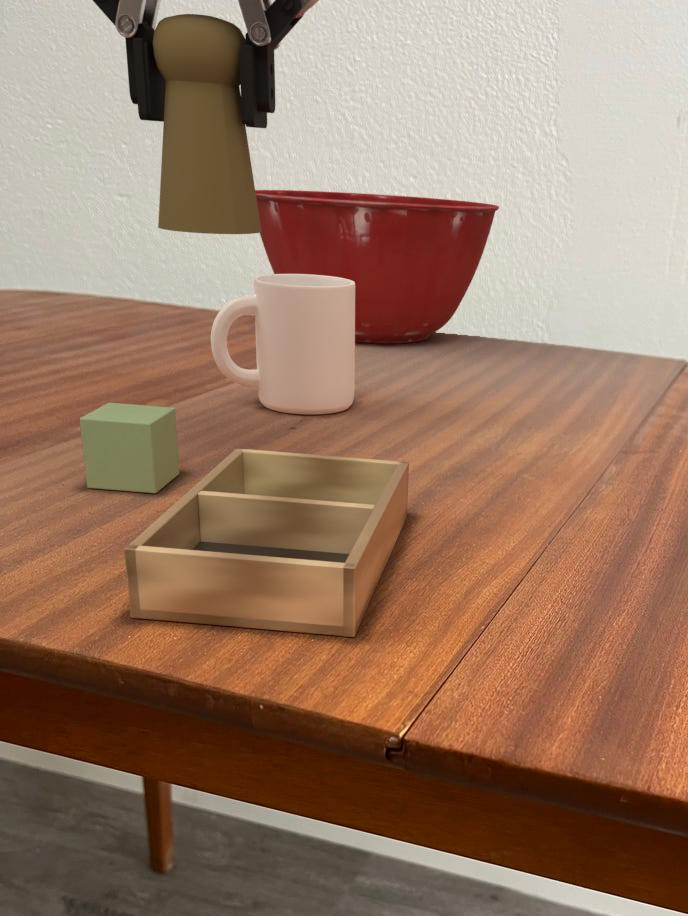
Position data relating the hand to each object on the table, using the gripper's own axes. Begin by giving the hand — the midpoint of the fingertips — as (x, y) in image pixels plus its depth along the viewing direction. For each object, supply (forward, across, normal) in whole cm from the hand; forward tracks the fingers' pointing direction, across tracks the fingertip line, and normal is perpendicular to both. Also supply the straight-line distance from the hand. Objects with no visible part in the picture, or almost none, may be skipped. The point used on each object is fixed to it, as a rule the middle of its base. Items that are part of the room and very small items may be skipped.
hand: (204, 120), depth 59 cm
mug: (+22, -1, +23) cm, 31 cm away
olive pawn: (+6, 0, 0) cm, 6 cm away
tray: (+21, +7, -13) cm, 26 cm away
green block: (+21, -6, -1) cm, 22 cm away
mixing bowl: (+22, +1, +62) cm, 65 cm away
